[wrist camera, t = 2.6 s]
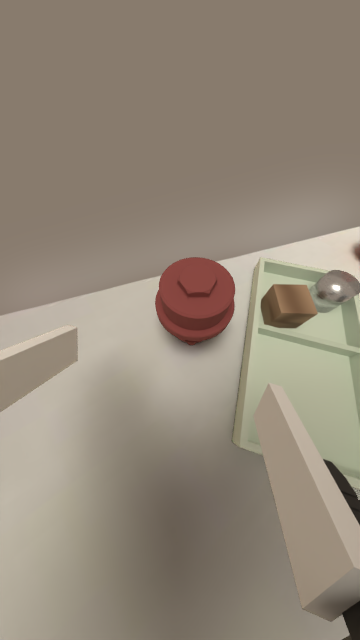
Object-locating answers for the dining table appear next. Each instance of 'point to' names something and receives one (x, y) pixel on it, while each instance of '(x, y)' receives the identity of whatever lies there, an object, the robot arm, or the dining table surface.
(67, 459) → the dining table surface
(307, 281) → the tray
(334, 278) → the metal ellipsoid
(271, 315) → the walnut block
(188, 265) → the mechanical component
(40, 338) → the robot arm
